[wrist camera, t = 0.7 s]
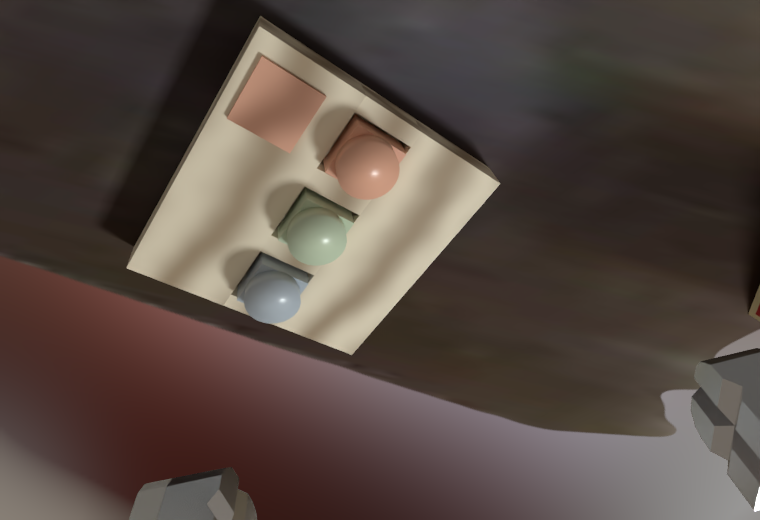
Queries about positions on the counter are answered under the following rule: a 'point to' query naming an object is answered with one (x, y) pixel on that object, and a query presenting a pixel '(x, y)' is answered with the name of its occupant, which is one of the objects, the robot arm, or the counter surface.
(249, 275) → the slate button
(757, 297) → the milk carton
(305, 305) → the button panel
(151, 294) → the counter surface
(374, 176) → the terracotta button
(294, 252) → the sage button
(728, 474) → the robot arm
